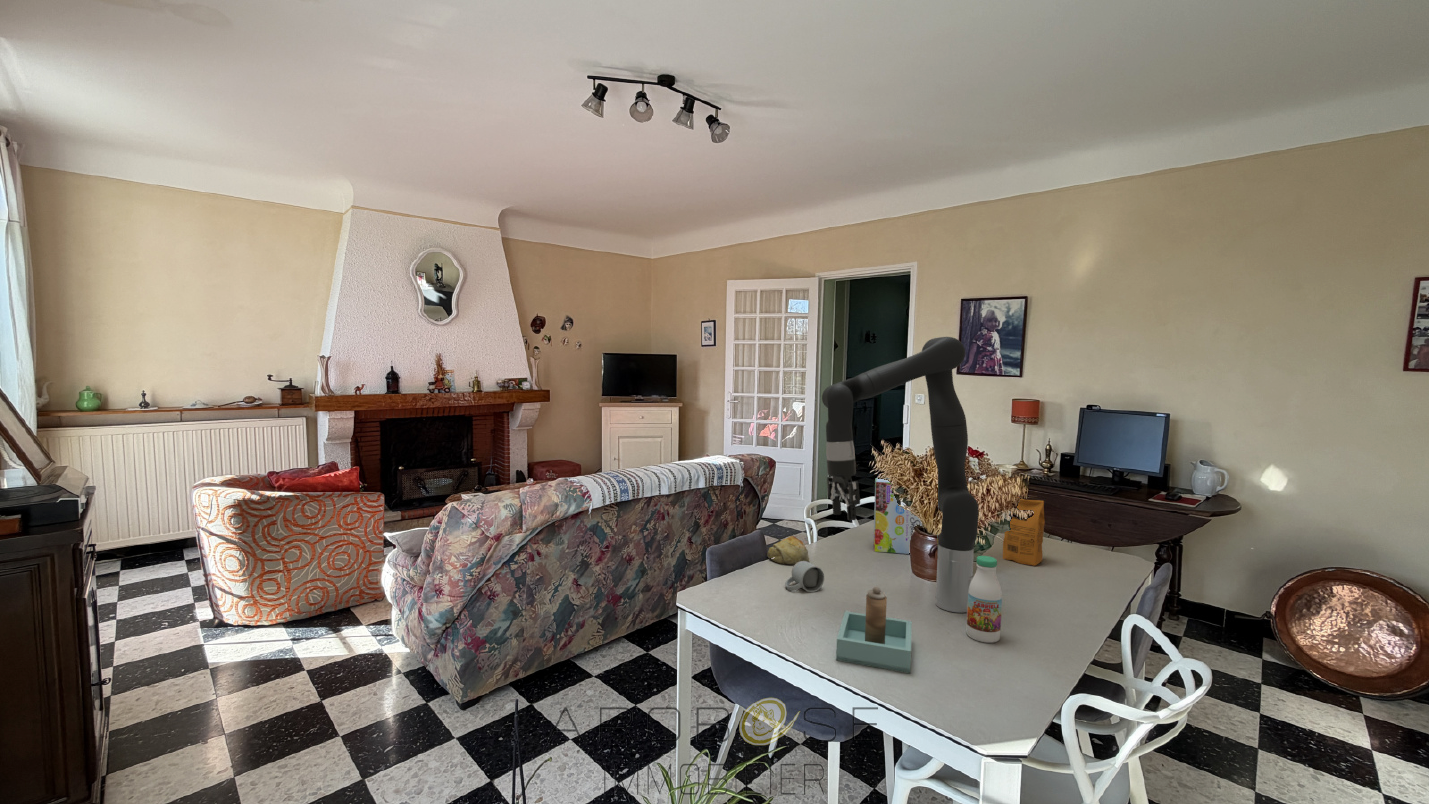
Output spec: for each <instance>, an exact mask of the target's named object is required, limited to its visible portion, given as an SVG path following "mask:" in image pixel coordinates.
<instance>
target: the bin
mask: <svg viewBox="0 0 1429 804" xmlns="http://www.w3.org/2000/svg"><path fill="white" fill-rule="evenodd" d="M865 621H866V613H862V612H861V613H860V612H853V611H849V610H848V611H847V610H844V613H843V616H842V619H841V624H840V627H839V631H838V633H837V638H836V653H835V654H836V656H835V660H836V661H839V662H844V663H849V662H850V664H855V665H860V666H868V667H873V668H877V669H884V670H889V671H895V672H900V673H905V674H911V659H912V624H913V623H912V620H908V619H900V618H895V617H887V616H886V629H885V644H879V643H873V642H867V641H865Z"/></svg>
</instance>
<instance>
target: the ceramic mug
mask: <svg viewBox="0 0 1429 804" xmlns="http://www.w3.org/2000/svg"><path fill="white" fill-rule="evenodd" d="M824 573H825V572H824V570H823V569H822V568H821V567H819V566H818V565H815V564H813V563H811V562H810V561H809V562H806V561H800V562H797V563H796V564H793V567H792V569H791V577H789V578H788V579H786V580H785V583H784V586H785V588H786V590H787V591H789V592H794V591H797V590H799V589H801V588H802V589H803V590H804V591H805V592H808V593H814V592H817V591H819V590H820V589H821V588H822V587H823V584H824V582H825V574H824ZM793 582H795V583H796V584H793V585H790V584H791V583H793Z"/></svg>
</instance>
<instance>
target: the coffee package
mask: <svg viewBox="0 0 1429 804" xmlns="http://www.w3.org/2000/svg"><path fill="white" fill-rule="evenodd" d="M1044 505H1045V501H1044V500H1038V499H1037V500H1036V499H1023V498H1021V499H1020V502H1019V503H1018V506H1017V508H1018V509H1019V510H1033V511H1034V515H1033V516H1032V517H1030V518H1028V519H1022V520H1020V519H1018V518H1017V517H1012V519H1011V521H1010V528H1011V530H1010V531H1006V532H1005V531H1004V537H1003V539H1002V559H1003V560H1008V561H1013V562H1016V563H1018V564H1021V565H1028V566H1037V565H1038V564H1040V563H1041V562H1042V561H1043V543H1044V532H1045V531H1044V530H1045V523H1046V522H1045V509H1044V508H1045V507H1044Z"/></svg>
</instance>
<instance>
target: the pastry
mask: <svg viewBox="0 0 1429 804" xmlns="http://www.w3.org/2000/svg"><path fill="white" fill-rule="evenodd" d="M766 555H767V557H768V559H770V558H773V557H775V558H774V559H770V560H771V561H773V562H775V563H777V564H782V565H795V564H796V563H797V562H800V561H806V562H809V563H810V556H809V550H808V549H807V547H806V545H805V544H804V542H803V540H801V539H799V538H797V536H795V535H790V536H788V537H786V538H783V539H782V540H780V541H778V542H776V543H774V544H773V545H772V546H771V547H769V548H768V550H767V554H766Z"/></svg>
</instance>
